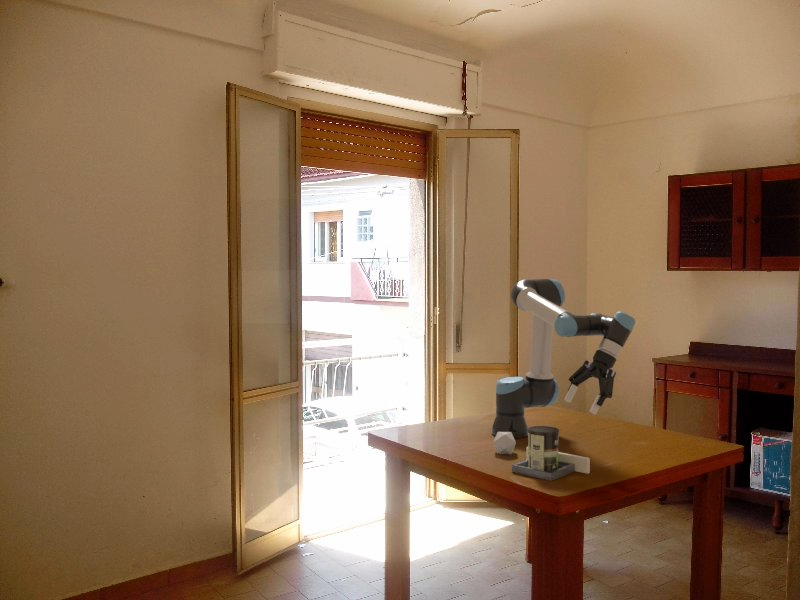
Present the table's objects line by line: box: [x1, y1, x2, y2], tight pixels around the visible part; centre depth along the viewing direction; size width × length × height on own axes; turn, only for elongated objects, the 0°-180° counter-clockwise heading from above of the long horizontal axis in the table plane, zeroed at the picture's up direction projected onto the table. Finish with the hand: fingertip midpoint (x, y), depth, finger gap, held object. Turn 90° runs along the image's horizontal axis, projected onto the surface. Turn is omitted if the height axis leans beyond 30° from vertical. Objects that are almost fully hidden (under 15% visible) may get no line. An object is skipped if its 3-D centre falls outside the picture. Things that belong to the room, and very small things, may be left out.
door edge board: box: [525, 446, 591, 474], centre depth 246 cm, size 24×2×5 cm, turn 47°
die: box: [492, 432, 517, 455], centre depth 264 cm, size 8×9×10 cm
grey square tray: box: [511, 459, 576, 482], centre depth 240 cm, size 15×15×2 cm
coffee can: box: [527, 425, 560, 472], centre depth 240 cm, size 10×10×14 cm
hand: (579, 407), depth 248 cm, fingers open, 13 cm apart
